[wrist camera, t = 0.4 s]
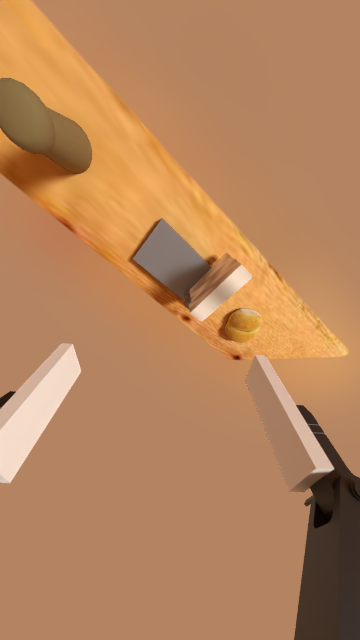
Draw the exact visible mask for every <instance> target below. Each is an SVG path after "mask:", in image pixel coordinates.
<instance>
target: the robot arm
mask: <svg viewBox="0 0 360 640" xmlns="http://www.w3.org/2000/svg"><path fill="white" fill-rule="evenodd" d="M80 373H81V369H80V366H79V362H78V359H77V356H76V353H75V350H74V347H73V344H65V343H61V344H60V346H59V347H58V348H57V349H56V350H55V351H54V352H53V353H52V354H51V355H50V356H49V357H48V358H47V360H46V361H45V362H44V363H43V364H42V365H41V366H40V367H39V368H38V369H37V370H36V371H35V372H34V373H33V375H32V376H31V377H30V378H29V379H28V380H27V381H26V382H25V383H24V384H23V385H22V386H21V387H20V388H19V390H18V391H17V392H11V391H10V392H9V393H7V394H6V395H4V396H3V397H1V398H0V483H10V482H11V481H12V479H13V478H14V476H15V474H16V473H17V471H18V469H19V468H20V466H21V465H22V463H23V462H24V460H25V459H26V457H27V456H28V454H29V452H30V451H31V449H32V448H33V446H34V445H35V443H36V441H37V440H38V438H39V437H40V435H41V434H42V432H43V431H44V429H45V427H46V425H47V424H48V423H49V421H50V420H51V418H52V416H53V415H54V413H55V412H56V410H57V409H58V407H59V405H60V404H61V402H62V401H63V399H64V398H65V396H66V394H67V393H68V391H69V390H70V388H71V387H72V385H73V384H74V382H75V380H76V379H77V377H78V376H79V374H80ZM245 381H246V384H247V386H248V389H249V391H250V394H251V396H252V399H253V402H254V404H255V407H256V409H257V412H258V414H259V417H260V419H261V422H262V424H263V427H264V429H265V432H266V435H267V437H268V440H269V442H270V445H271V447H272V450H273V452H274V455H275V458H276V460H277V463H278V465H279V468H280V470H281V473H282V475H283V478H284V480H285V483H286V486H287V488H288V491H291V492H292V491H293V492H305V491H306V490H307V489H308V488H310V489H311V491H312V493H313V496H311V497H310V498H308V499H307V500H306V501H305V503H304V504H305V505H306V506H308V505H310V504H311V508H310V515H309V523H308V531H307V540H306V548H305V556H304V564H303V572H302V580H301V589H300V596H299V605H298V613H297V621H296V629H295V637H294V640H360V478H359V477H356V476H355V475H353V474H352V473H351V472H350V470H349V469H348V468H347V466H346V465H345V463H344V462H343V461H342V459H341V457H340V456H339V454H338V453H337V451H336V450H335V448H334V447H333V446H332V444H331V442H330V441H329V439H328V438H327V436H326V435H325V434H324V432H323V430H322V429H321V427H320V426H319V425H318V423H317V421H316V420H315V418H314V416H313V415H312V414H311V413H310V412H309V411H308V410H307V409H306V408H305V407H304V406H303V405H295V403H294V402H293V400H292V398H291V397H290V395H289V393H288V392H287V390H286V389H285V387H284V385H283V384H282V382H281V380H280V379H279V377H278V375H277V374H276V372H275V371H274V369H273V367H272V366H271V364H270V362H269V361H268V359H267V357H266V356H265V355H255V357H254V359H253V362H252V364H251V367H250V370H249V372H248V374H247V377H246V379H245Z"/></svg>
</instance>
